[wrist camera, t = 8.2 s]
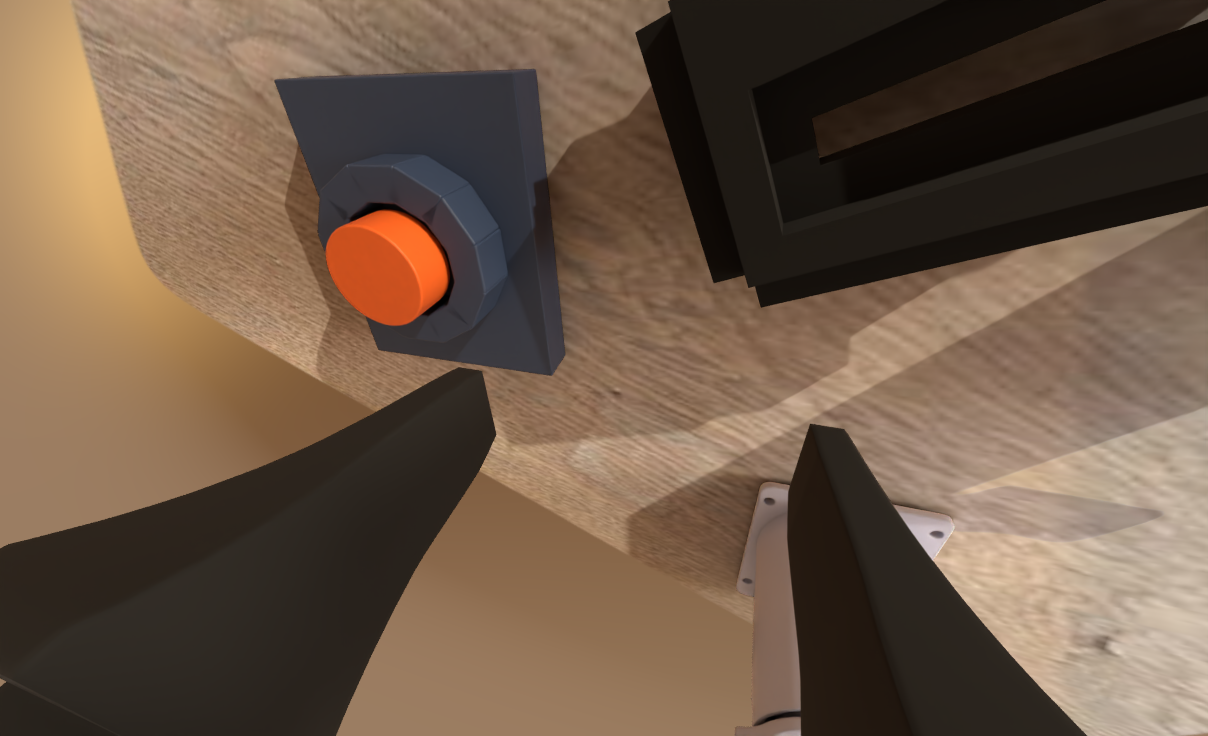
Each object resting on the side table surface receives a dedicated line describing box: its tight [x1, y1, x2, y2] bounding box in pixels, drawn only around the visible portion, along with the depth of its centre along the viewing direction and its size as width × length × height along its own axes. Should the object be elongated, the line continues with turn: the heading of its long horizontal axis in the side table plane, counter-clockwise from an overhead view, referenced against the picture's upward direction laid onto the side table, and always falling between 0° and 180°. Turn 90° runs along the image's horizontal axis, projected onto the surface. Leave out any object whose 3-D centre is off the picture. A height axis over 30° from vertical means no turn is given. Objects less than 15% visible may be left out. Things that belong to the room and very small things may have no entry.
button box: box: [274, 69, 565, 376], centre depth 17 cm, size 11×9×4 cm
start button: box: [326, 209, 450, 326], centre depth 16 cm, size 4×4×2 cm
